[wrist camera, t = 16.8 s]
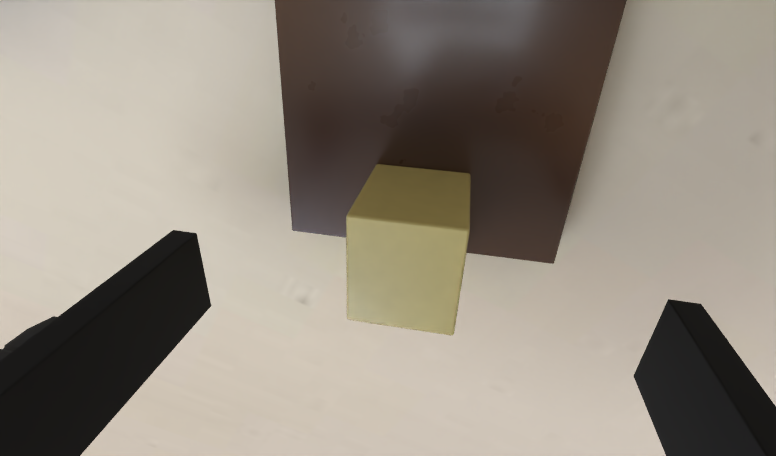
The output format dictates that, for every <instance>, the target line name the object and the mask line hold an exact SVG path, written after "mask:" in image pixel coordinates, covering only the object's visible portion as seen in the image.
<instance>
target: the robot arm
mask: <svg viewBox="0 0 776 456" xmlns="http://www.w3.org/2000/svg"><path fill="white" fill-rule="evenodd" d="M210 307H211V303H210V298H209V293H208V288H207V283H206V278H205V273H204V268H203V263H202V258H201V253H200V248H199V243H198V239H197V234H196V233H190V232H183V231H176V230H173V231H171V232H170V233H169V234H167V235H166V236H165V237H163V238H162V239H161V240H160V241H158V242H157V243H156V244H154V245H153V246H152V247H150V248H149V249H148V250H146V251H145V252H144V253H142V254H141V255H140V256H138V257H137V258H136V259H134V260H133V261H132V262H130V263H129V264H128V265H126V266H125V267H124V268H122V269H121V270H120V271H118V272H117V273H116V274H114V275H113V276H112V277H110V278H109V279H108V280H106V281H105V282H104V283H102V284H101V285H100V286H98V287H97V288H96V289H94V290H93V291H92V292H91V293H89V294H88V295H87V296H85V297H84V298H83V299H81V300H80V301H79V302H77V303H76V304H75V305H73V306H72V307H71V308H69V309H68V310H67V311H65V312H64V313H63V314H61V315H60V316H59V317H51V318H49V319H47V320H45V321H43V322H41V323H39V324H37V325H35V326H33V327H31V328H29V329H27V330H25V331H24V332H23V333H21V334H20V335H18V336H17V337H16V338H14V339H13V340H12V341H10V342H9V343H8V344H6V345H5V347H4V349H0V456H80V455H81V454H82V453H83V452H84V450H85V449H86V448H87V447H88V446H89V445H90V444H91V442H92V441H93V440H94V439H95V438H96V437H97V436H98V434H99V433H100V432H101V431H102V430H103V429H104V428H105V426H106V425H107V424H108V423H109V422H110V421H111V420H112V418H113V417H114V416H115V415H116V414H117V413H118V412H119V410H120V409H121V408H122V407H123V406H124V405H125V404H126V402H127V401H128V400H129V399H130V398H131V397H132V396H133V394H134V393H135V392H136V391H137V390H138V389H139V388H140V386H141V385H142V384H143V383H144V382H145V381H146V380H147V378H148V377H149V376H150V375H151V374H152V373H153V372H154V371H155V369H156V368H157V367H158V366H159V365H160V364H161V363H162V361H163V360H164V359H165V358H166V357H167V356H168V355H169V353H170V352H171V351H172V350H173V349H174V348H175V347H176V345H177V344H178V343H179V342H180V341H181V340H182V339H183V337H184V336H185V335H186V334H187V333H188V332H189V331H190V329H191V328H192V327H193V326H194V325H195V324H196V323H197V321H198V320H199V319H200V318H201V317H202V316H203V315H204V313H205V312H206V311H207V310H208V309H209V308H210ZM634 378H635V380H636V383H637V385H638V388H639V390H640V393H641V395H642V398H643V400H644V402H645V405H646V407H647V410H648V412H649V415H650V417H651V420H652V422H653V424H654V427H655V429H656V432H657V434H658V437H659V439H660V442H661V444H662V446H663V449H664V451H665V454H666V456H776V406H775V405H774V404H773V402H772V401H771V400H770V398H769V397H768V395H767V394H766V393H765V391H764V390H763V389H762V387H761V386H760V384H759V383H758V382H757V380H756V379H755V378H754V376H753V375H752V373H751V372H750V371H749V369H748V368H747V367H746V365H745V364H744V362H743V361H742V360H741V358H740V357H739V356H738V354H737V353H736V351H735V350H734V349H733V347H732V346H731V345H730V343H729V342H728V340H727V339H726V338H725V336H724V335H723V334H722V332H721V331H720V329H719V328H718V327H717V325H716V324H715V323H714V321H713V320H712V318H711V317H710V316H709V314H708V313H707V312H706V310H705V309H704V307H703V306H702V305H701V304H697V303H690V302H683V301H676V300H669V299H668V301H667V304H666V306H665V308H664V310H663V312H662V315H661V317H660V319H659V321H658V323H657V326H656V328H655V330H654V332H653V334H652V337H651V339H650V341H649V343H648V345H647V348H646V350H645V352H644V354H643V356H642V359H641V361H640V363H639V365H638V367H637V370H636V372H635V374H634Z"/></svg>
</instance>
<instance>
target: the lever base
mask: <svg viewBox="0 0 776 456" xmlns="http://www.w3.org/2000/svg"><path fill="white" fill-rule="evenodd" d="M626 1H627V0H275V8H276V21H277V34H278V47H279V60H280V74H281V87H282V100H283V113H284V126H285V139H286V152H287V165H288V178H289V191H290V204H291V217H292V230H293V231H300V232H308V233H316V234H324V235H332V236H340V237H346V216H347V214H348V212H349V211H350V209H351V207H352V205H353V204H354V202H355V200H356V199H357V197H358V195H359V193H360V192H361V190H362V188H363V187H364V185H365V183H366V181H367V180H368V178H369V176H370V175H371V173H372V171H373V169H374V168H375V166H376V165H377V164H382V165H392V166H402V167H411V168H421V169H431V170H441V171H451V172H461V173H469V174H470V232H469V239H468V245H467V252H466V253H474V254H481V255H489V256H497V257H505V258H513V259H521V260H529V261H536V262H544V263H552V264H553V263H554V261H555V257H556V254H557V250H558V246H559V243H560V239H561V236H562V232H563V228H564V225H565V221H566V218H567V214H568V210H569V207H570V203H571V199H572V196H573V192H574V189H575V185H576V181H577V178H578V174H579V171H580V167H581V163H582V160H583V156H584V152H585V149H586V145H587V142H588V138H589V134H590V131H591V127H592V124H593V120H594V116H595V113H596V109H597V105H598V102H599V98H600V95H601V91H602V87H603V84H604V80H605V77H606V73H607V69H608V66H609V62H610V58H611V55H612V51H613V48H614V44H615V40H616V37H617V33H618V30H619V26H620V22H621V19H622V15H623V11H624V8H625V4H626Z"/></svg>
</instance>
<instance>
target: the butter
mask: <svg viewBox="0 0 776 456" xmlns="http://www.w3.org/2000/svg"><path fill="white" fill-rule="evenodd" d="M469 232H470V174H469V173H461V172H451V171H441V170H431V169H421V168H411V167H402V166H392V165H382V164H377V165H376V166H375V168H374V169H373V171H372V173H371V175H370V176H369V178H368V180H367V181H366V183H365V185H364V187H363V188H362V190H361V192H360V193H359V195H358V197H357V199H356V200H355V202H354V204H353V205H352V207H351V209H350V211H349V212H348V214H347V216H346V238H347V318H348V319H349V320H354V321H361V322H367V323H374V324H380V325H387V326H393V327H400V328H406V329H413V330H419V331H426V332H433V333H439V334H446V335H453V334H454V329H455V323H456V316H457V310H458V303H459V297H460V291H461V284H462V278H463V271H464V265H465V258H466V252H467V245H468V239H469Z"/></svg>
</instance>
